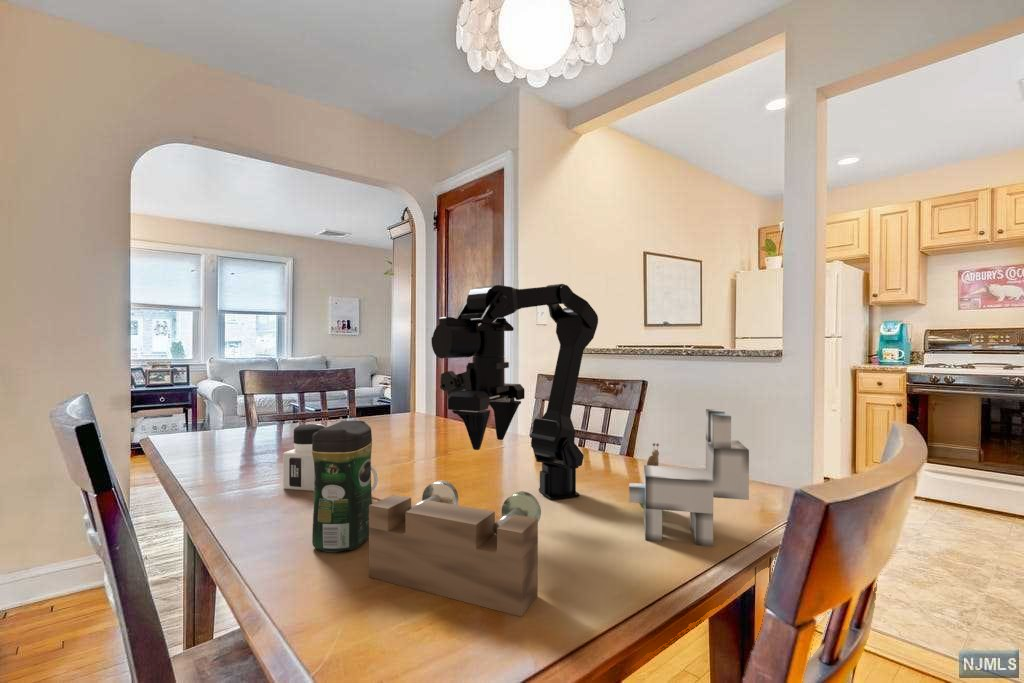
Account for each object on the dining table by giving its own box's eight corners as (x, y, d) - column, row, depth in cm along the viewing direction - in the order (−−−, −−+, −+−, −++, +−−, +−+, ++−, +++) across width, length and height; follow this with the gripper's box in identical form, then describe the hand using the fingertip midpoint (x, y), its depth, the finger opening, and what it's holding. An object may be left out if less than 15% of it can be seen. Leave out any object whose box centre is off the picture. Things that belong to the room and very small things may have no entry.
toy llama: (628, 521, 85) (629, 406, 85) (737, 531, 81) (738, 410, 81) (629, 538, 78) (629, 412, 78) (748, 549, 74) (749, 416, 74)
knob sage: (507, 524, 69) (507, 489, 69) (540, 530, 67) (541, 494, 67) (481, 545, 62) (481, 505, 62) (517, 552, 60) (518, 511, 60)
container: (315, 491, 102) (315, 428, 102) (282, 489, 103) (282, 427, 103) (335, 481, 109) (336, 422, 109) (304, 479, 111) (305, 421, 111)
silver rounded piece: (429, 511, 74) (430, 478, 74) (458, 516, 72) (458, 482, 72) (397, 528, 67) (398, 492, 67) (428, 534, 65) (428, 497, 65)
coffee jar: (332, 528, 82) (332, 416, 82) (378, 530, 81) (379, 417, 81) (302, 553, 72) (302, 427, 72) (354, 555, 71) (355, 428, 71)
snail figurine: (670, 508, 92) (670, 444, 92) (665, 519, 86) (666, 451, 86) (641, 503, 95) (641, 441, 95) (634, 514, 89) (635, 448, 89)
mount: (393, 561, 69) (393, 494, 69) (537, 595, 60) (537, 518, 60) (368, 577, 65) (369, 505, 65) (521, 616, 56) (521, 532, 56)
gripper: (474, 354, 99) (475, 431, 99) (419, 358, 82) (420, 451, 82) (525, 355, 94) (525, 436, 94) (477, 359, 77) (478, 457, 78)
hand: (488, 444), depth 87 cm, fingers open, 9 cm apart
